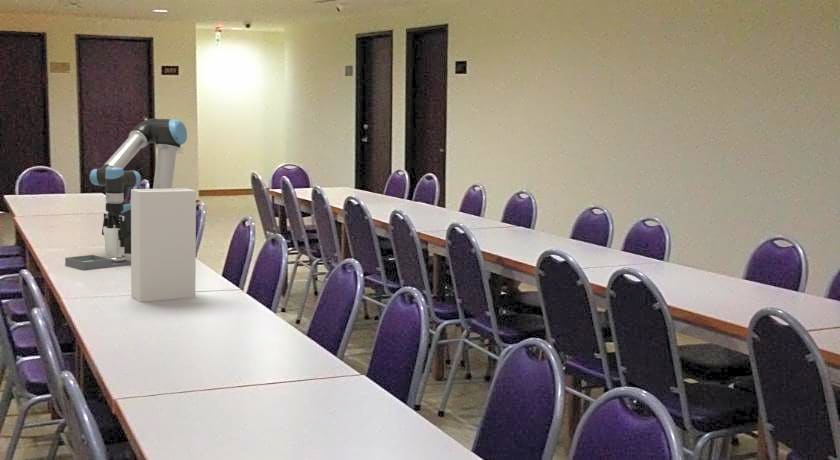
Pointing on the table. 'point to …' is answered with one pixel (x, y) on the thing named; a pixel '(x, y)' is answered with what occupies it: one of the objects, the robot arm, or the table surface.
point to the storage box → (163, 244)
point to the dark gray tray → (92, 262)
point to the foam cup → (111, 241)
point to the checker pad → (117, 259)
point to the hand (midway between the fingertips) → (114, 252)
